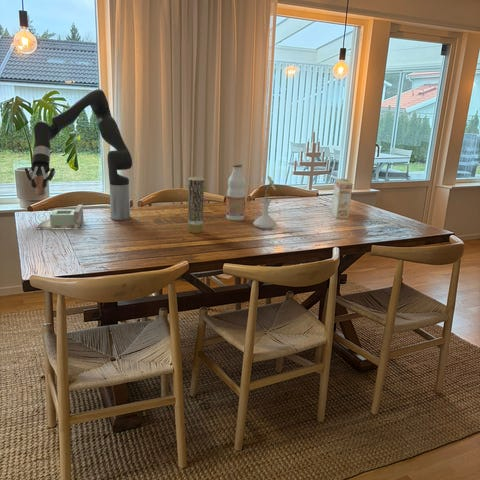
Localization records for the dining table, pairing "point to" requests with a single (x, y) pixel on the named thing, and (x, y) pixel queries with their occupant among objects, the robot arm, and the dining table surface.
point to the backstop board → (78, 222)
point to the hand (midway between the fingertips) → (38, 187)
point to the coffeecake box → (341, 198)
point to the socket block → (62, 217)
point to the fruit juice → (236, 194)
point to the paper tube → (195, 204)
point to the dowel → (39, 185)
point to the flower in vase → (266, 211)
